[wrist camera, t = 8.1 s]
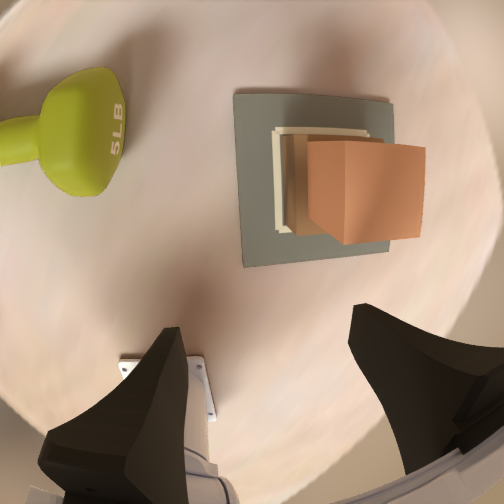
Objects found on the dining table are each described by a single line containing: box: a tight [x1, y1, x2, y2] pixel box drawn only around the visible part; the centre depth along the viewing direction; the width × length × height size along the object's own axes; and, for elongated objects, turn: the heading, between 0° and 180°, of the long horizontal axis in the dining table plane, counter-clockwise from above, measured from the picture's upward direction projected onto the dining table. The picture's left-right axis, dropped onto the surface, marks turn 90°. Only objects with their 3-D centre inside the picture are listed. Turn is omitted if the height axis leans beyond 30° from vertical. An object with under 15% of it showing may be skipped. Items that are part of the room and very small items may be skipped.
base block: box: [282, 134, 384, 236], centre depth 18 cm, size 6×6×3 cm
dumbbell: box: [0, 67, 126, 197], centre depth 12 cm, size 16×8×7 cm, turn 84°
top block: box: [307, 141, 425, 245], centre depth 14 cm, size 4×4×5 cm
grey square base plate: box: [233, 93, 394, 268], centre depth 20 cm, size 12×12×1 cm
